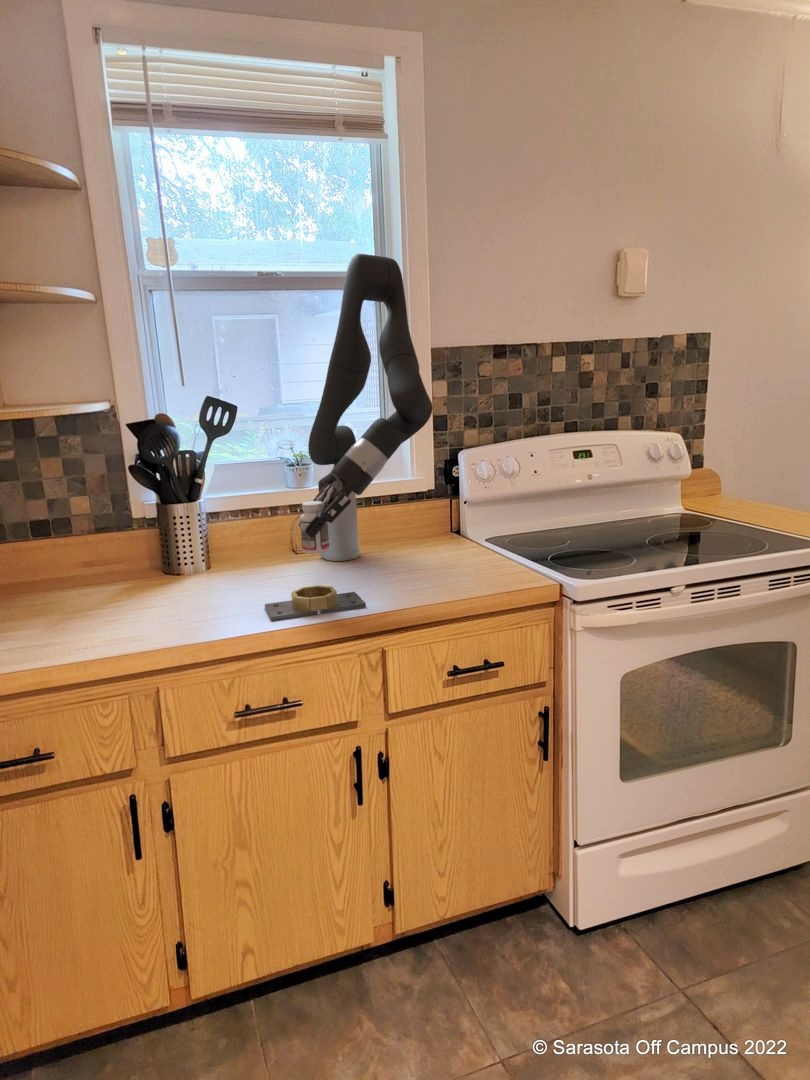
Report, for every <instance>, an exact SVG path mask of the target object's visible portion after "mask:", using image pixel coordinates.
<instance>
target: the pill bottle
mask: <svg viewBox="0 0 810 1080" xmlns="http://www.w3.org/2000/svg"><path fill="white" fill-rule="evenodd" d="M321 504H322V502H320V501H313V500H312V501H305V502H303V503H301V507H302V512H303V513H301V515H300V516H299V523H300V527H299V528H300V535H301V536H300V538H301V549H302V552H303V553H305V554H309V555H315V554H316V555H317V554H320V553H323V552H326V551H328V550H329V536H328V523H327V524H326V523H325V525H324V526H323V527H322V528H321V529H320V531H319V532H318V533H317V534H316V535H315V537H313V538H312V537H310V536H309V535H308V534H307V533H306V532H305V529H306V528H307V526H308V525H309V524H310V523H311V522H312V520H313V519H314V518H315V517H317V514H318V513H319V511H320V510H321V508H322V507H321ZM317 518H318V517H317Z"/></svg>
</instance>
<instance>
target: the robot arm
mask: <svg viewBox="0 0 810 1080" xmlns="http://www.w3.org/2000/svg"><path fill="white" fill-rule="evenodd" d="M402 274H403V273H402V271H401V268H400V266H399V263H398V262H397V261H396V260H395V259H393V258H391V257H387V256H379V255H374V254H373V255H372V254H367V253H356V254H354V255H353V256H352V257H351V258H350V261H349V262H348V265H347V270H346V273H345V277H344V278H345V279H344V286H343V291H342V299H341V307H340V312H339V313H340V314H339V319H338V324H337V325H338V326H337V329H336V332H335V338H334V343H333V345H332V350H331V354H330V358H329V363H328V365H327V366H328V367H327V370H326V371H327V372H326V379H325V382H324V383H325V384H324V387H323V390H322V395H321V400H320V402H319V403H320V404H319V406H318V410H317V412H316V415H315V419H314V421H313V424H312V428H311V431H310V433H309V437H308V447H307V449H308V455H309V457H310V460H311V462H313V463H314V464H315V465H317V466H328V465H329V466H330V465H333V467H332V469H331V471H330V472H329V473H328V474H326V475H325V476H324V477H322V478H321V479H319V480H318V484H317V487H318V494H317V495H315V497H314V499H312V501H320V502H322V504H321V507H322V508H321V510H320V511H319V513H318V514H317V517H318V518H317V517H315V518H314V519H313V520H312V522H311V523H310V524H309V525H308V526H307V528H306V529H305V532H306V533H307V534H308V535H309V536H310V537H312V538H313V537H315V535H316V534H317V533H318V532H319V531H320V529H321V528H322V527H323V526H324V525H325V523H326V524H327V523H328V536H329V550H328V551H326V552H323V553H319V558H320V559H324V560H327V561H331V562H343V561H344V562H345V561H351V560H354V559H357V558H358V557H360V545H359V529H358V528H359V526H358V525H359V524H358V510H357V507H358V506H357V496H361V495H362V494H363V493H364V492H365V491H366V489H367V488H368V486H370V484H371V483H372V482H373V481H374V480H375V479H376V477H377V476H378V475H379V473H381V471H382V470H383V469H384V466H385V465H386V464H387V462H388V460H390V459H391V457H392V456H393V455H394V453H395V452H396V451H397V450H398V449H399V447H400V446H401V445H402V444H403V443H404V442H406V441H407V440H409V439H411V437H412V436H414V435H416V434H417V433H418V432H419V431H420V430H421V429H423V428H424V426H425V425H426V424H427V423H428V422H429V419H430V418H431V417H432V414H433V409H434V407H433V403H432V400H431V398H430V396H429V394H428V392H427V390H426V387H425V384H424V382H423V380H422V379H423V378H422V375H421V373H420V363H419V361H418V357H417V354H416V349H415V347H414V343H413V340H412V336H411V332H410V327H409V320H408V311H407V302H406V295H405V288H404V286H405V285H404V280H403V275H402ZM364 301H368V302H369V301H370V302H376V303H383V304H384V306H385V308H386V310H387V318H386V321H385V324H384V326H383V327H382V328H383V329H382V331H381V333H380V337H379V342H378V343H379V344H378V346H379V349H378V350H379V355H380V359H381V362H382V365H383V368H384V372H385V374H386V376H387V377H386V379H387V386H388V391H389V396H390V400H391V403H392V405H393V407H394V409H395V412H394V413H392V414H391V415H390V416H389V417H388V418H384V417H381V418H377V419H376V420H374V421H373V422H372V424H371V425H370V426H369V427H368V428H367V430H366V431H365V432H364V433H363V434H362V435H361V436H360V437H359V439H358V440H356V435H355V433H354V431H353V429H352V428H350V426H347V425H338V424H339V423H340V420H341V417H343V414H344V413H345V412H346V411H347V409H348V408H350V406H351V405H352V404H353V403H354V402H355V400H356V399H357V398H358V396H359V395H360V394H361V392H363V390H364V388H365V386H366V383H367V380H368V376H369V372H370V367H371V363H372V355H371V349H370V347H369V343H368V341H367V338H366V335H365V333H364V330H363V327H362V322H361V317H362V315H361V314H362V308H363V303H364ZM298 527H299V528H301V527H300V522H298Z"/></svg>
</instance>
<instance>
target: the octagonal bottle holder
mask: <svg viewBox="0 0 810 1080" xmlns="http://www.w3.org/2000/svg"><path fill="white" fill-rule="evenodd" d="M362 608H367V604H366V602H365V601H364V600H363V599H362V598H361V597H360V596H359V594H358V593H357V592H356V591H348V592H342V593H337V590H336V589H335V587H333V586H329V585H328V586H327V585H322V584H321V585H320V584H319V585H318V584H317V585H310V586H303V587H300V588H297V589H295V590H293V591H291V600H285V601H284V600H283V601H277V602H271V603H264V609H265V611H266V612H267V615H268V617H269V619H270V622H274V620H275V621H281V620H280V619H282V620H288V618H289V619H294V618H295V617H296V618H302V616H303V617H308V616H315V615H319V613H320V614H323V615H324V614H328V613H329V614H330V613H335V612H342V611H343V612H344V611H350V610H356V609H357V610H358V609H362Z"/></svg>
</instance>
